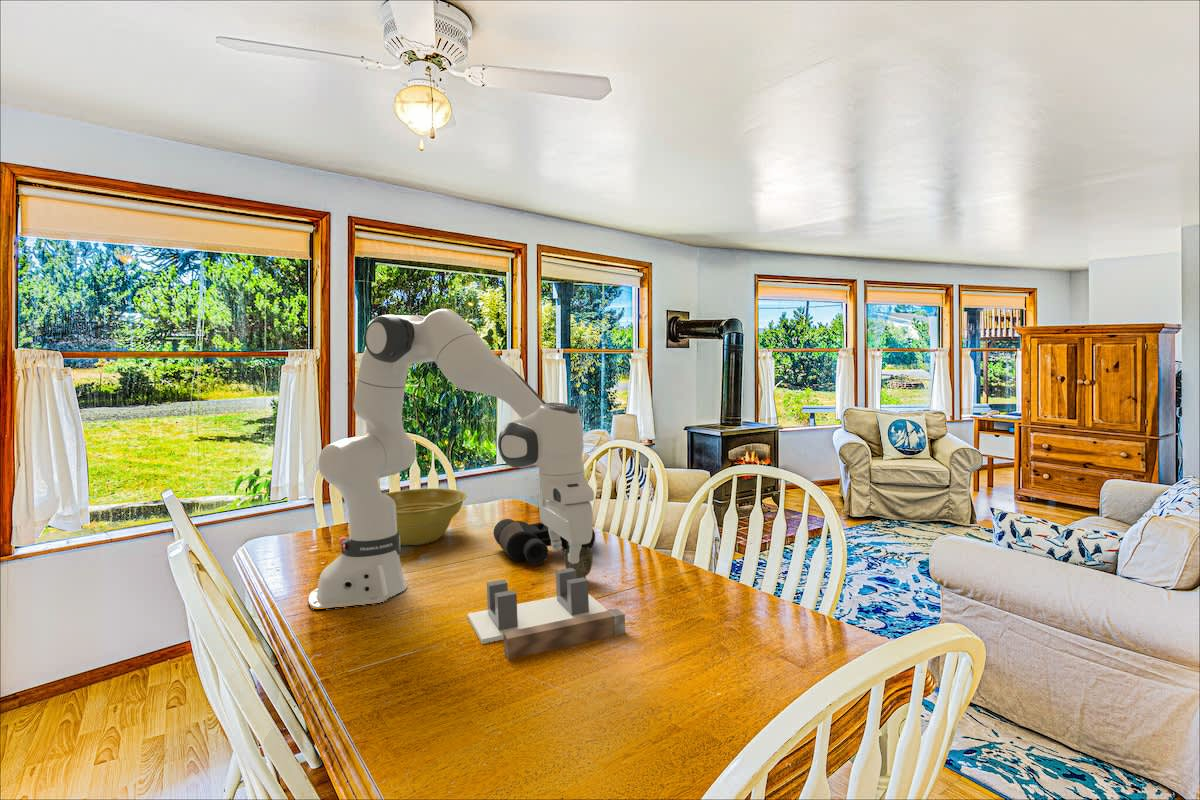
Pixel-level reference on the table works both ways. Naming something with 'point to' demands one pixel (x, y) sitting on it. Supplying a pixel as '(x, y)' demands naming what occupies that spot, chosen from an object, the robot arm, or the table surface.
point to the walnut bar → (563, 633)
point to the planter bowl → (425, 513)
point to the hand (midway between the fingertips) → (564, 555)
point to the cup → (580, 562)
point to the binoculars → (527, 540)
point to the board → (532, 607)
